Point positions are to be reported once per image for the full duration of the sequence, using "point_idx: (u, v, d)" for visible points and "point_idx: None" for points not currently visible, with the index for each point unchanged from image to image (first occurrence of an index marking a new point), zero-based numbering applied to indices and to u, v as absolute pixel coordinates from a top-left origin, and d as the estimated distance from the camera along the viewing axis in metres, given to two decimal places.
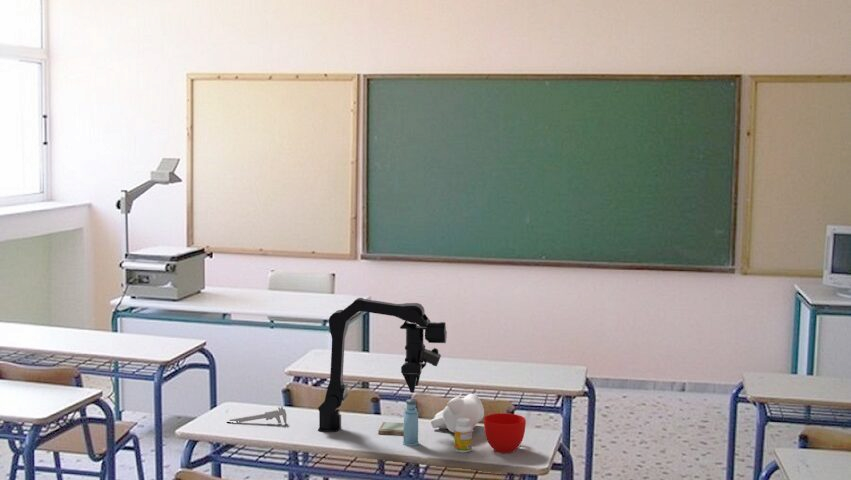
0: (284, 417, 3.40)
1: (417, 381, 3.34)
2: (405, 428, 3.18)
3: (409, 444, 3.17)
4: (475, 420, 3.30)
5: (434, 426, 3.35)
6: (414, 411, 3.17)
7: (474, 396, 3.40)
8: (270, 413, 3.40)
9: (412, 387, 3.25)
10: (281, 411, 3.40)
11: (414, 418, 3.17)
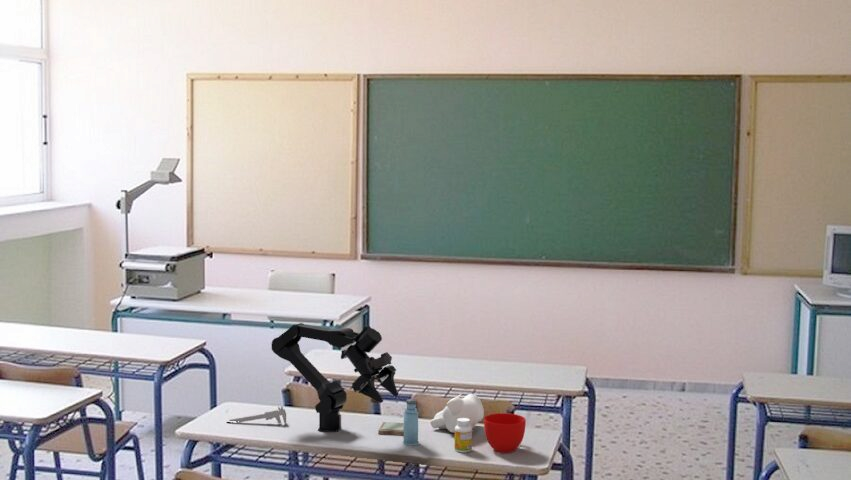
0: (284, 417, 3.40)
1: (395, 391, 3.26)
2: (405, 428, 3.18)
3: (409, 444, 3.17)
4: (475, 420, 3.29)
5: (434, 426, 3.35)
6: (414, 411, 3.17)
7: (474, 396, 3.39)
8: (270, 413, 3.40)
9: (377, 397, 3.18)
10: (281, 411, 3.40)
11: (414, 418, 3.17)
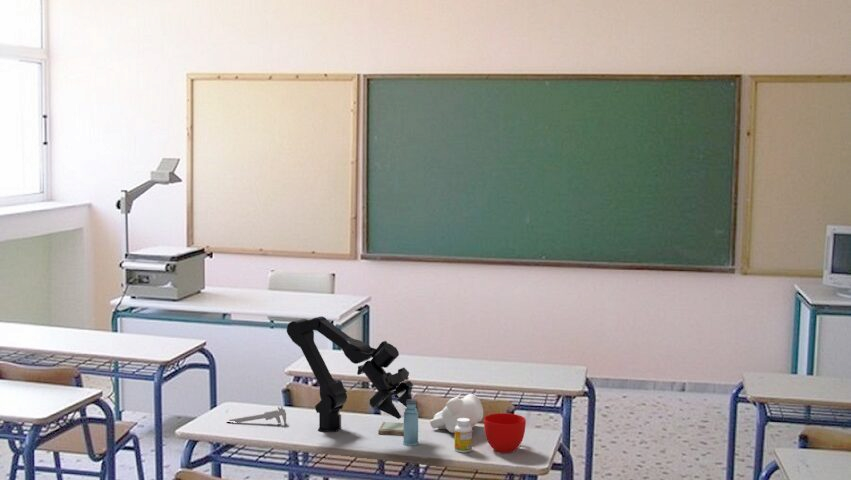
0: (284, 417, 3.40)
1: None
2: (405, 428, 3.18)
3: (409, 444, 3.17)
4: (474, 420, 3.29)
5: (433, 426, 3.35)
6: (414, 411, 3.17)
7: (473, 396, 3.39)
8: (270, 413, 3.40)
9: (395, 413, 3.15)
10: (281, 411, 3.40)
11: (414, 418, 3.17)
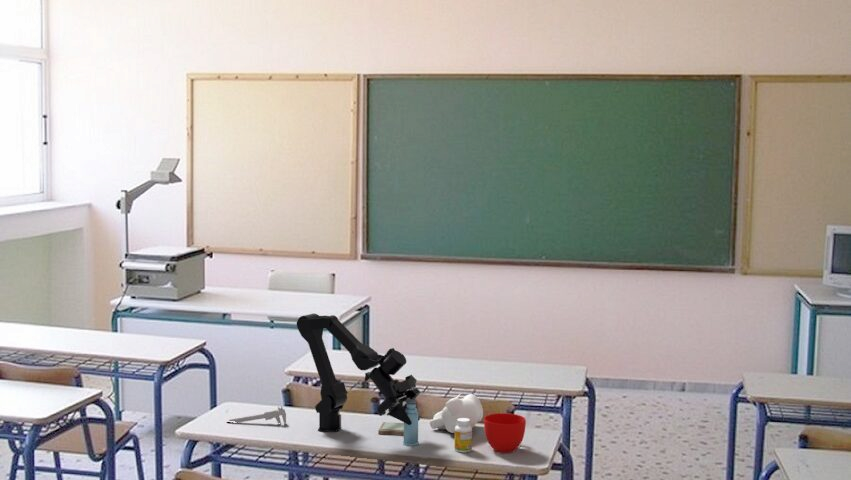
0: (284, 417, 3.40)
1: None
2: (405, 428, 3.18)
3: (409, 444, 3.17)
4: (474, 421, 3.29)
5: (433, 426, 3.35)
6: (414, 411, 3.17)
7: (473, 396, 3.39)
8: (270, 413, 3.40)
9: (406, 419, 3.16)
10: (281, 411, 3.40)
11: (414, 418, 3.17)
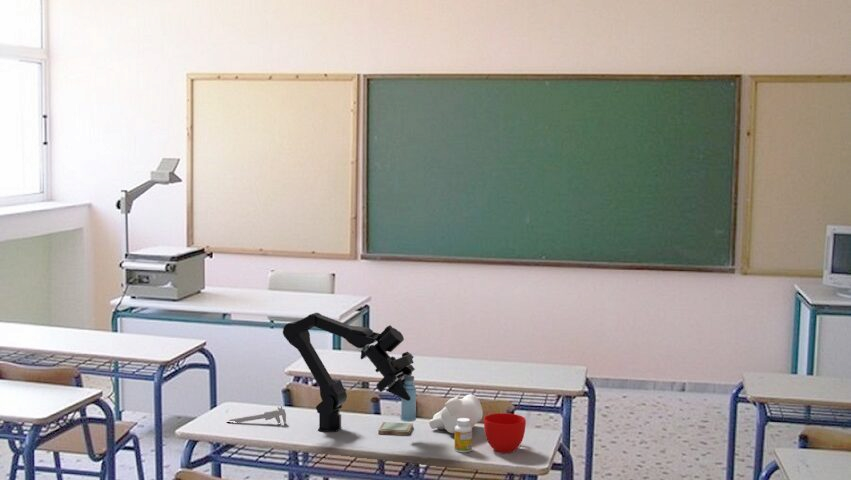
0: (284, 417, 3.40)
1: None
2: (403, 404, 3.22)
3: (407, 419, 3.22)
4: (473, 421, 3.29)
5: (432, 427, 3.34)
6: (412, 387, 3.22)
7: (473, 397, 3.39)
8: (270, 413, 3.40)
9: (405, 395, 3.20)
10: (281, 411, 3.40)
11: (413, 394, 3.21)
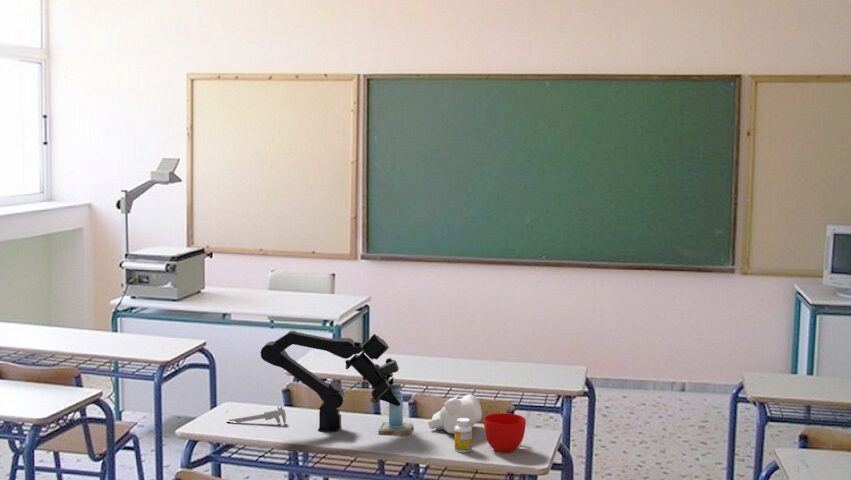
0: (283, 417, 3.40)
1: None
2: (393, 412, 3.32)
3: (397, 426, 3.32)
4: (472, 421, 3.28)
5: (431, 427, 3.34)
6: (401, 394, 3.32)
7: (472, 397, 3.39)
8: (269, 413, 3.40)
9: (395, 401, 3.29)
10: (280, 411, 3.40)
11: (401, 401, 3.32)
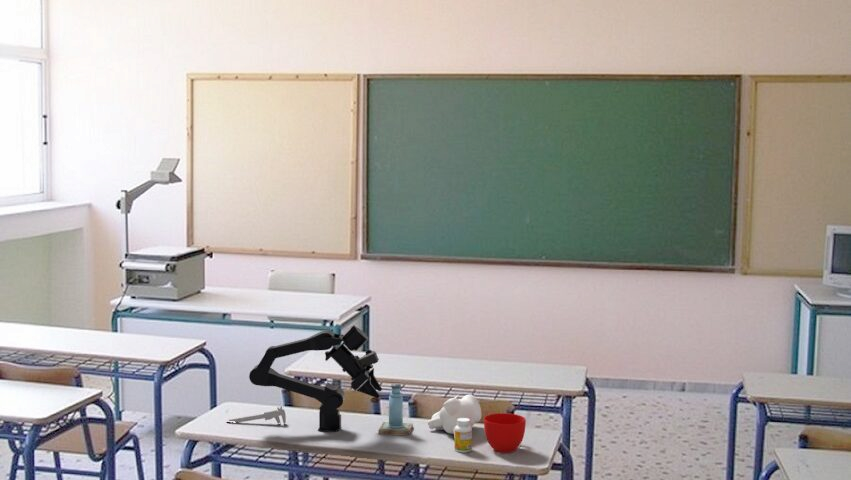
0: (283, 417, 3.40)
1: (378, 386, 3.38)
2: (393, 412, 3.32)
3: (397, 426, 3.32)
4: (472, 421, 3.28)
5: (431, 427, 3.34)
6: (400, 394, 3.32)
7: (471, 397, 3.38)
8: (269, 413, 3.40)
9: (374, 393, 3.28)
10: (280, 411, 3.40)
11: (401, 401, 3.32)
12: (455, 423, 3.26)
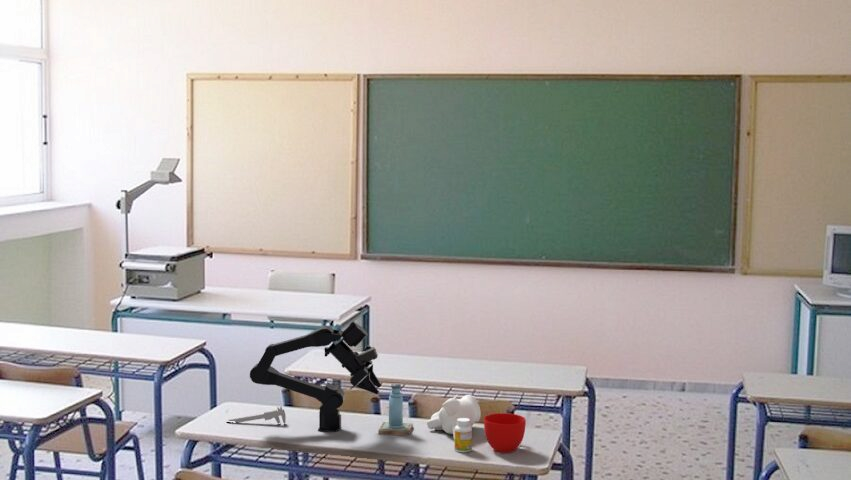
0: (283, 417, 3.40)
1: (378, 382, 3.38)
2: (393, 412, 3.32)
3: (397, 426, 3.32)
4: (471, 421, 3.28)
5: (430, 427, 3.34)
6: (400, 394, 3.32)
7: (471, 397, 3.38)
8: (269, 413, 3.40)
9: (374, 389, 3.28)
10: (280, 411, 3.40)
11: (401, 401, 3.32)
12: (454, 423, 3.26)
